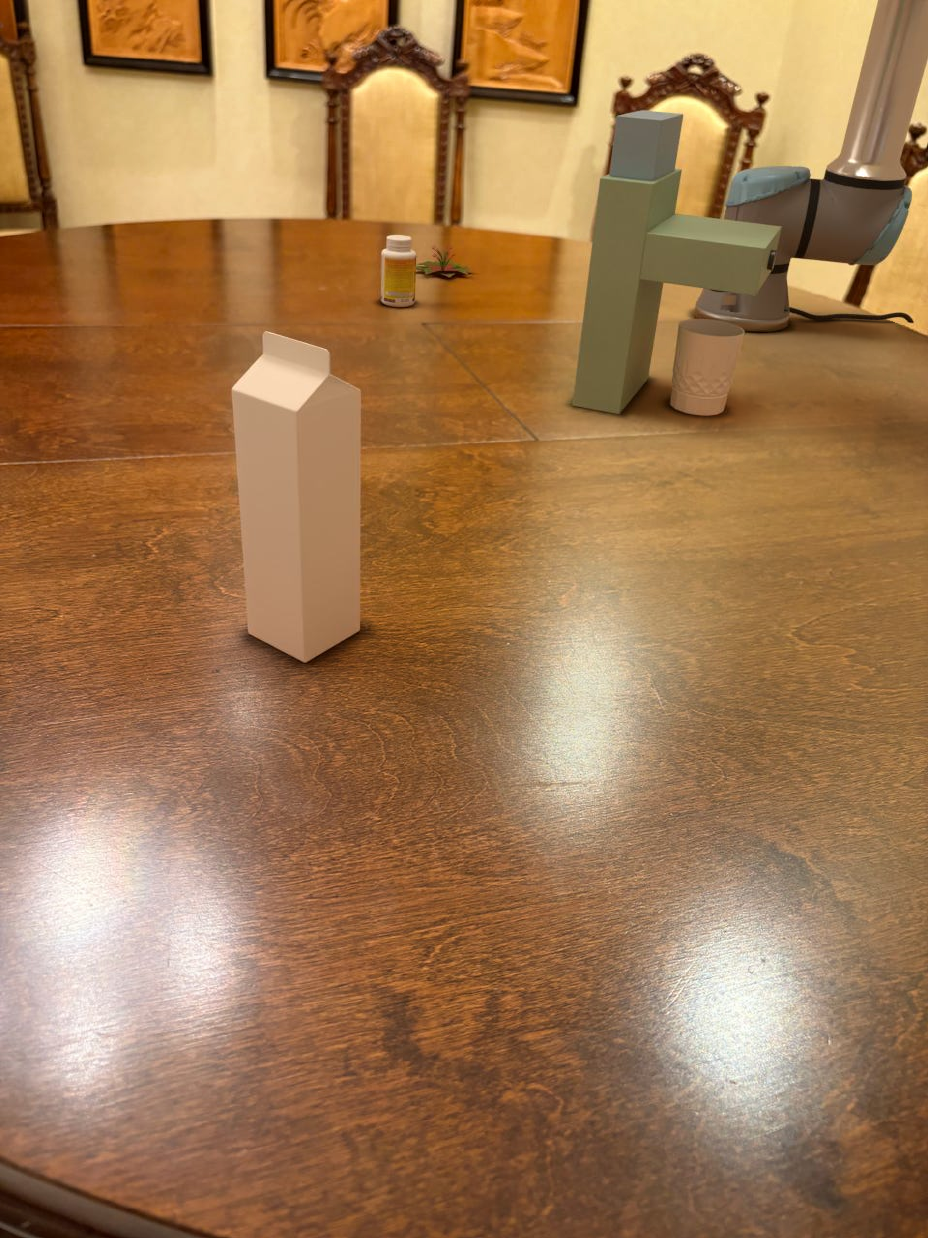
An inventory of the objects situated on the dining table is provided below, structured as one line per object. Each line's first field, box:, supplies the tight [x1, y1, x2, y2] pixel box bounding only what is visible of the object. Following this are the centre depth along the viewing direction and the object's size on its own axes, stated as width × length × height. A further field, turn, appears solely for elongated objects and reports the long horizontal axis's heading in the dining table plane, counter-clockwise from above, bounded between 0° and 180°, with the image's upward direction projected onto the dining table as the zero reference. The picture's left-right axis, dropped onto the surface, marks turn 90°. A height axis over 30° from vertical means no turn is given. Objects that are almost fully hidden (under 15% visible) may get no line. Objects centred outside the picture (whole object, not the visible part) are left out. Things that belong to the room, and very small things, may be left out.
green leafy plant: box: [416, 245, 476, 278], centre depth 177 cm, size 12×12×5 cm
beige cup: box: [669, 318, 746, 417], centre depth 120 cm, size 8×8×10 cm
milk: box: [231, 331, 362, 663], centre depth 67 cm, size 6×6×22 cm
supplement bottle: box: [380, 234, 417, 308], centre depth 155 cm, size 6×6×10 cm
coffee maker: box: [572, 109, 782, 415], centre depth 115 cm, size 20×16×32 cm
